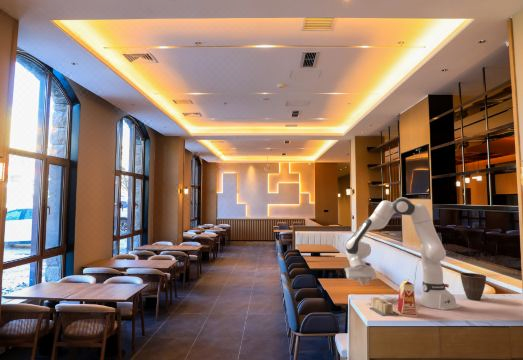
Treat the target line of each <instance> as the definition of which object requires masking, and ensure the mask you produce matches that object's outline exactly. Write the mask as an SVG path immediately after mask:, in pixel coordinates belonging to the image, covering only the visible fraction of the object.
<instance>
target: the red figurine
mask: <svg viewBox="0 0 523 360" xmlns="http://www.w3.org/2000/svg"><path fill="white" fill-rule="evenodd" d="M396 313H398V314H399V315H400V316H401V317H411V316H412V317H413V318H419V312H418V309H417V302H416V297H415V287H414V284H413V283H412V282H410V281H409V279H408V278H407V279H402V282H401V283H400V284H399V290H398V298H397V312H396Z"/></svg>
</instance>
